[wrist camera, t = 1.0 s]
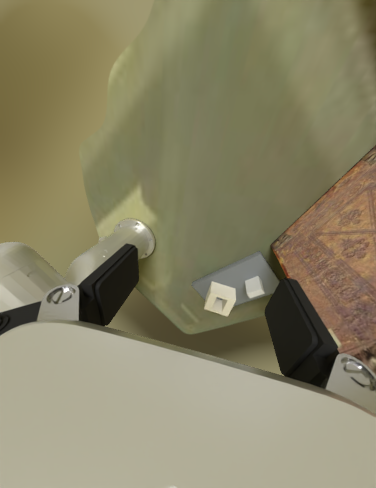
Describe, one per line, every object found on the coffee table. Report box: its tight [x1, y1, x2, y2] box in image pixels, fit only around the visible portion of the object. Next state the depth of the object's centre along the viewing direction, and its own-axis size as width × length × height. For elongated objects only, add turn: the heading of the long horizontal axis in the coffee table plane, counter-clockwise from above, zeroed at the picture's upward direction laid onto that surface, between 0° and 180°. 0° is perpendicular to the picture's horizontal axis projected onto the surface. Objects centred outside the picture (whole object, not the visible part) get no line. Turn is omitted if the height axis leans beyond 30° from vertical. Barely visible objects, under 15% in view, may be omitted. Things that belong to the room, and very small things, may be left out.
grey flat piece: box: [192, 251, 280, 306], centre depth 45 cm, size 22×13×6 cm, turn 128°
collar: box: [204, 281, 236, 317], centre depth 46 cm, size 7×7×4 cm
